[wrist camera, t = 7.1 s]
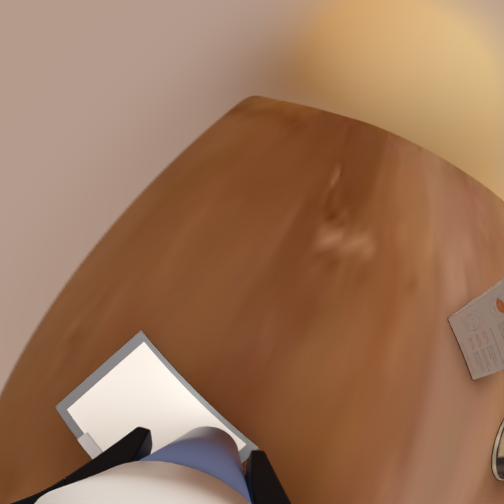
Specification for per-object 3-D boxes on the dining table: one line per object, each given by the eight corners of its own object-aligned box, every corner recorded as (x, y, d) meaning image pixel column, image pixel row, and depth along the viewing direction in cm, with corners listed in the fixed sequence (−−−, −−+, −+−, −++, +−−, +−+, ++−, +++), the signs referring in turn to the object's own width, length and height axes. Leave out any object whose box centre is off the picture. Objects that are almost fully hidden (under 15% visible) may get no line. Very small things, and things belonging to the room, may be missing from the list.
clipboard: (162, 522, 13) (159, 527, 12) (58, 407, 17) (52, 406, 16) (258, 446, 18) (259, 448, 17) (143, 332, 22) (139, 329, 21)
